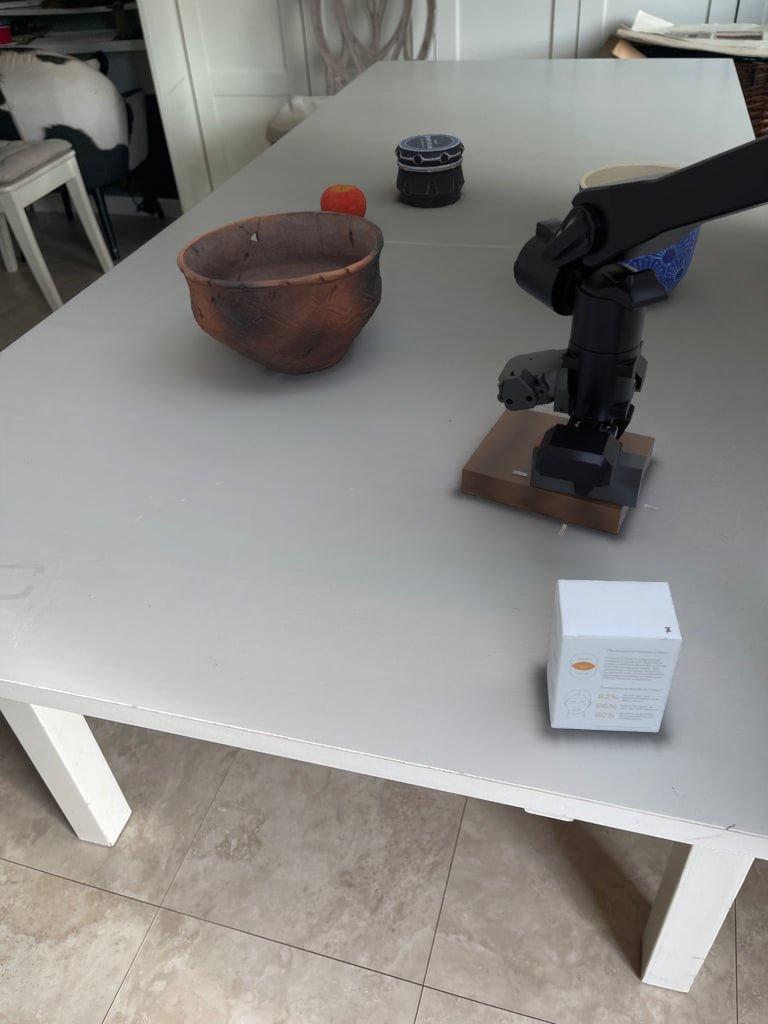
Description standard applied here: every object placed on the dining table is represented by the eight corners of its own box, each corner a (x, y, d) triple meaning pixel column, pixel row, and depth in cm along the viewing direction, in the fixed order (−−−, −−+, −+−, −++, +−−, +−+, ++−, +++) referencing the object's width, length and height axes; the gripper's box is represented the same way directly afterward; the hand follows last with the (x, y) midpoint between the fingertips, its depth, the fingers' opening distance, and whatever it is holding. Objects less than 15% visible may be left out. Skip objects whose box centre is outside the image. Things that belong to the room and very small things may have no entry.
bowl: (272, 299, 120) (257, 196, 111) (420, 329, 111) (418, 219, 101) (163, 377, 104) (134, 264, 94) (326, 420, 94) (312, 299, 85)
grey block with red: (639, 494, 76) (647, 453, 73) (635, 508, 75) (643, 467, 72) (535, 473, 79) (539, 433, 76) (529, 486, 78) (533, 445, 75)
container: (385, 194, 154) (382, 139, 148) (444, 182, 158) (444, 128, 152) (415, 214, 145) (413, 156, 139) (477, 201, 149) (478, 144, 142)
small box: (647, 675, 64) (671, 580, 57) (659, 735, 59) (686, 640, 53) (544, 670, 64) (556, 576, 58) (548, 729, 60) (561, 635, 53)
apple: (376, 228, 141) (374, 182, 136) (344, 242, 137) (340, 195, 132) (345, 218, 145) (342, 173, 140) (313, 232, 141) (309, 186, 136)
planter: (705, 279, 118) (728, 171, 109) (665, 326, 108) (687, 211, 98) (596, 258, 126) (608, 156, 117) (549, 299, 116) (558, 191, 106)
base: (680, 468, 84) (686, 443, 82) (634, 582, 71) (639, 556, 69) (507, 427, 91) (509, 403, 89) (438, 524, 79) (438, 499, 77)
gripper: (538, 280, 76) (527, 420, 86) (477, 376, 63) (473, 528, 73) (660, 295, 72) (634, 439, 82) (622, 400, 59) (597, 556, 69)
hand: (584, 486), depth 77 cm, fingers closed on grey block with red, 2 cm apart
